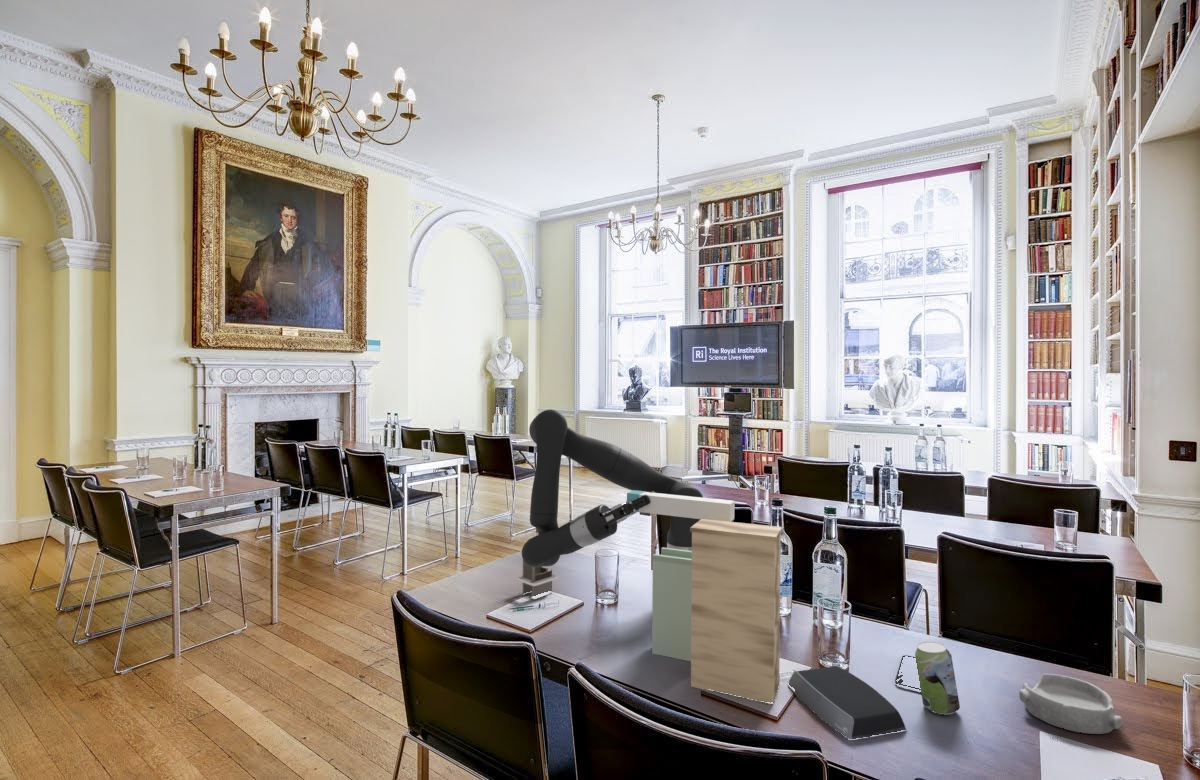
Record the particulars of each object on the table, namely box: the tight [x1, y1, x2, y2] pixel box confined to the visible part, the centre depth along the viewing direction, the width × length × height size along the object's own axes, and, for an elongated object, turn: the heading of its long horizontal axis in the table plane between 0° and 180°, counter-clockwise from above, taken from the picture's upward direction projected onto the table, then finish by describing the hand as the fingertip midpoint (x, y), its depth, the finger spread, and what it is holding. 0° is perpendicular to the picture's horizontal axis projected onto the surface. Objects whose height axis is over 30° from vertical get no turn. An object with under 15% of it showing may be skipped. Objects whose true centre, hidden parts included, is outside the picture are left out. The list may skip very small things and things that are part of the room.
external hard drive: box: [788, 665, 907, 739], centre depth 112 cm, size 13×19×4 cm
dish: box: [1018, 673, 1123, 735], centre depth 109 cm, size 14×14×5 cm
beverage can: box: [914, 641, 961, 716], centre depth 111 cm, size 6×7×12 cm
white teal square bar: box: [626, 490, 736, 522], centre depth 135 cm, size 4×24×4 cm, turn 65°
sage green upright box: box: [651, 546, 692, 662], centre depth 134 cm, size 7×12×22 cm, turn 65°
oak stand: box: [690, 519, 783, 703], centre depth 119 cm, size 9×17×32 cm, turn 65°
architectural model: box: [517, 559, 557, 596], centre depth 171 cm, size 19×17×11 cm
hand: (651, 496), depth 137 cm, fingers closed on white teal square bar, 4 cm apart
